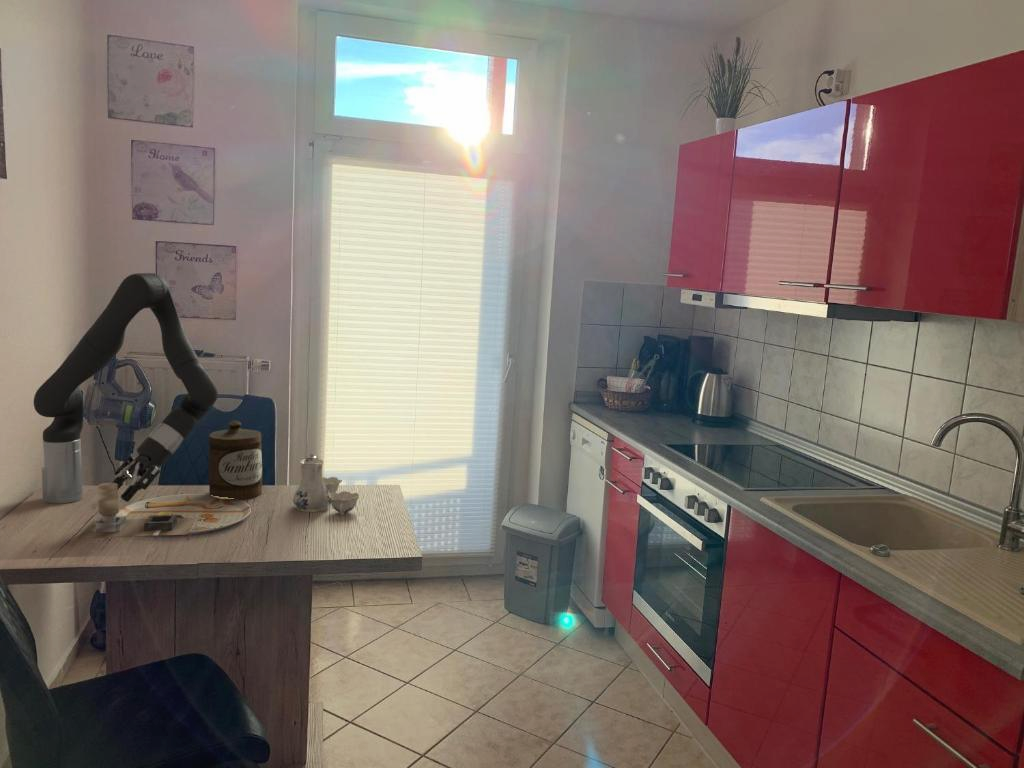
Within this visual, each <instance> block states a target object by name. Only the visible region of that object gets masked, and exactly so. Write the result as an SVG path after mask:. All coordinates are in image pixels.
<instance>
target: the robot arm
mask: <svg viewBox="0 0 1024 768" xmlns="http://www.w3.org/2000/svg"><path fill="white" fill-rule="evenodd" d="M144 309H150V310H151V312H152V314H153V315H154V317H155V318H156V320H157V322H158V324H159V327H160V333H161V342H162V350H163V353H164V356H165V358H166V360H167V361H168V364H169V366H170V368H171V369H172V371H173V373H174V374H175V376H176V377H177V378H178V379H179V380H181V382H182V385H184V387H185V389H186V391H187V394H186V395H185V396H184V397H183V398H182V399H181V401H180V402H179V404H178V405H177V406H176V407H175V408H173V409H172V410H171V411H170V413H168V414H167V415H166V416H165V418H163V420H162V421H161V422H160V423H159V424H158V425H157V426H156V427H155V428H153V430H152V431H151V432H150V434H148V436H147V437H146V438H145V439H144V440H143V441H142V442H141V444H139V446H137V449H136V453H137V454H138V455H137V456H136V458H134V457H133V456H132V455H130V456H128V457H127V458H126V459H125V460H124V462H122V463H121V465H119V467H118V468H117V469H116V470H115V471H114V473H113V475H115V478H114V479H113V481H112V482H111V483H117V484H118V490H119V489H120V488H121V487H122V486H123V485H124V483H126V482H127V481H129V480H132V482H131V484H130V485H129V486H128V487H127V488H126V490H124V491H123V493H122V494H121V496H120V499H122V500H123V501H124V502H126V503H129V502H130V501H131V500H132V498H133V497H134V496H135V495H136V494H137V492H139V491H142V490H144V491H145V490H147V489H148V487H149V486H150V485H151V484H152V483H153V481H154V480H155V478H157V477H158V475H159V473H160V472H161V470H160V468H162V467H163V466H164V465H165V464H166V463H167V462H168V460H169V459H170V458H171V457H172V455H173V454H174V453H175V452H176V450H178V448H179V447H180V446H181V444H182V443H183V441H184V440H185V439H186V437H187V436H188V435H189V434H190V433H191V432H192V431H193V429H194V428H195V426H196V424H197V423H198V422H199V421H200V420H201V419H202V418H203V417H204V416H205V415H206V414H207V412H209V410H210V409H211V408H213V406H214V404H215V403H216V402H217V400H218V398H219V397H218V396H219V394H218V389H217V386H216V385H215V383H214V381H213V379H212V377H210V375H209V373H208V372H207V371H206V369H205V368H204V367H203V366H202V362H201V361H200V359H199V357H198V355H197V354H196V351H195V349H194V348H193V346H192V344H191V342H190V341H189V338H188V336H187V333H186V331H185V329H184V327H183V324H182V321H181V318H180V315H179V313H178V309H177V307H176V304H175V301H174V298H173V295H172V292H171V289H170V287H169V285H168V283H167V281H166V279H164V277H163V276H161V275H160V274H158V273H154V272H144V273H143V272H141V273H140V272H139V273H131V274H130V275H128V276H126V277H125V278H124V279H123V280H122V282H121V283H119V286H118V287H117V289H116V290H115V293H114V295H112V297H111V299H110V301H109V303H108V304H107V306H106V307H105V308H104V310H103V311H102V312H101V314H100V315H99V316H98V317H97V319H96V320H95V321H94V323H93V324H92V325H91V326H90V328H89V329H88V330H87V331H86V332H85V333H84V335H83V336H82V337H81V339H80V340H79V342H78V343H77V344H76V346H75V347H74V348H73V350H72V351H71V352H70V353H69V355H68V356H67V357H66V358H65V359H64V361H63V362H62V363H61V365H60V366H59V367H58V368H57V369H56V370H55V372H54V373H52V375H50V376H49V377H48V378H47V379H46V380H45V381H44V382H43V383H42V384H41V386H39V388H37V390H36V392H35V394H34V398H33V407H34V410H35V412H36V413H37V414H38V415H40V416H42V417H45V418H53V421H52V422H51V424H49V425H48V426H47V427H46V428H45V429H44V430H43V431H42V445H43V446H42V449H43V450H42V451H43V468H41V487H42V503H50V504H67V503H73V502H77V501H80V500H82V499H83V497H84V496H83V495H84V494H83V493H84V491H83V470H82V469H83V468H82V465H83V463H82V446H81V445H82V443H81V442H82V441H81V433H82V431H83V427H84V409H85V407H84V395H83V393H82V390H81V388H80V386H81V385H82V384H83V383H85V382H86V381H87V380H88V379H90V378H91V377H93V376H95V375H96V374H97V373H99V372H101V371H102V370H104V369H105V368H106V367H107V366H108V365H109V364H110V363H111V361H113V359H114V358H115V357H116V355H117V354H119V352H120V350H121V349H122V347H123V344H124V341H125V334H126V329H127V327H128V326H129V324H130V323H131V322H132V320H133V319H134V318H135V317H136V315H137V314H138V313H140V312H141V311H142V310H144Z"/></svg>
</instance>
